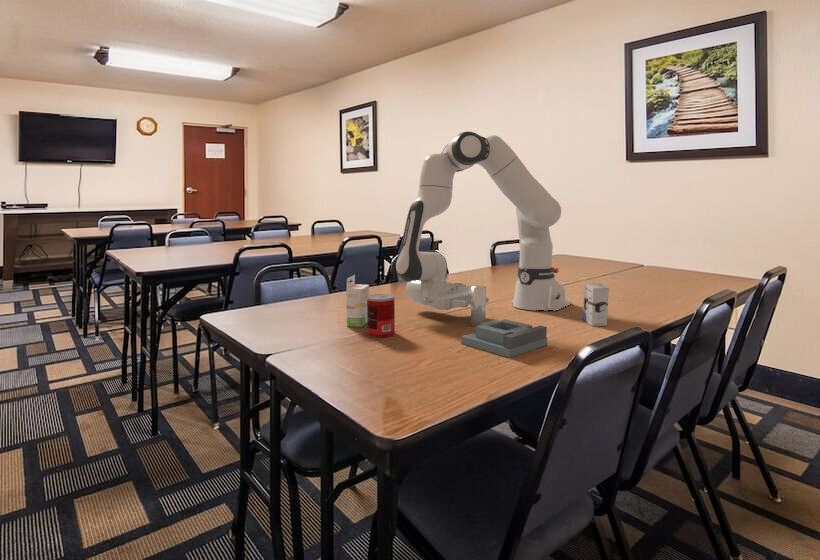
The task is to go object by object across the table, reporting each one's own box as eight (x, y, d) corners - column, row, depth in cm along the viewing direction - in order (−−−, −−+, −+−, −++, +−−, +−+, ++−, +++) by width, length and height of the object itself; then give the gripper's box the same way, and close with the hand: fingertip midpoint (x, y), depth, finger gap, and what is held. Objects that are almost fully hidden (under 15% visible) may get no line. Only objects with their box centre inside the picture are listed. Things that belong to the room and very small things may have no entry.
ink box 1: (362, 327, 154) (361, 279, 151) (346, 326, 155) (345, 278, 152) (370, 320, 162) (369, 274, 160) (355, 320, 163) (354, 274, 161)
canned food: (398, 331, 149) (398, 294, 147) (388, 338, 142) (388, 299, 140) (374, 329, 152) (373, 293, 150) (363, 336, 144) (362, 298, 142)
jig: (499, 332, 147) (500, 315, 146) (547, 345, 135) (547, 326, 134) (461, 343, 137) (461, 325, 136) (509, 357, 125) (509, 337, 124)
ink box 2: (582, 319, 162) (584, 283, 160) (597, 319, 162) (600, 283, 160) (590, 326, 154) (593, 287, 152) (607, 326, 154) (609, 288, 152)
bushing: (477, 322, 159) (478, 284, 157) (488, 325, 156) (489, 286, 154) (467, 325, 156) (468, 286, 154) (478, 327, 153) (479, 288, 151)
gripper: (420, 290, 158) (452, 296, 148) (466, 282, 172) (498, 288, 161) (420, 310, 159) (452, 318, 149) (465, 300, 173) (497, 307, 162)
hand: (476, 302), depth 155 cm, fingers open, 8 cm apart
